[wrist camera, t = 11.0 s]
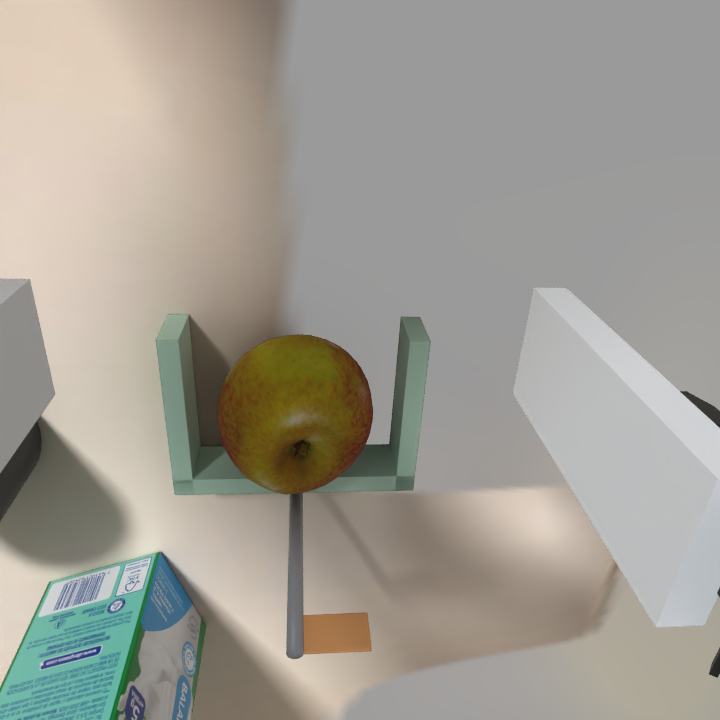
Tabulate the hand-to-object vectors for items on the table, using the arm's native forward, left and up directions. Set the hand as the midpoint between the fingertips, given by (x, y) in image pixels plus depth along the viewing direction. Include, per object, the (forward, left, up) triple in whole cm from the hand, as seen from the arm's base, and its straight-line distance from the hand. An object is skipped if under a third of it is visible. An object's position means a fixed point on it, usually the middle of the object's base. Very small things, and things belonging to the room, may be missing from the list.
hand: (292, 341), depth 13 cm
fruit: (+14, 0, -22) cm, 26 cm away
